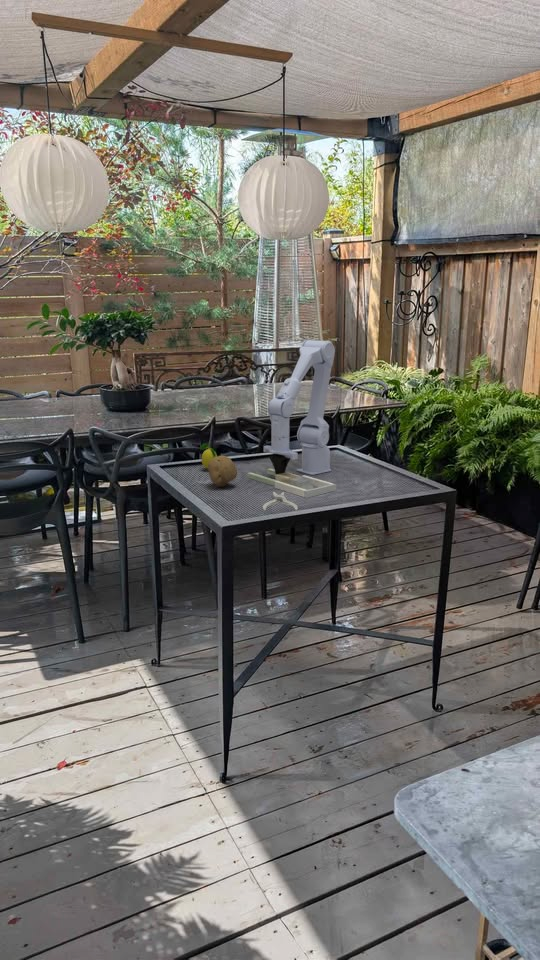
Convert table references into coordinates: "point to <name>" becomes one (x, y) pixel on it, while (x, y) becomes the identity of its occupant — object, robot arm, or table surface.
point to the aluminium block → (301, 482)
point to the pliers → (279, 498)
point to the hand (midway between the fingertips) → (280, 477)
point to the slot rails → (262, 478)
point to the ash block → (285, 477)
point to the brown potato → (222, 470)
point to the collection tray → (322, 488)
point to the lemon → (207, 454)
